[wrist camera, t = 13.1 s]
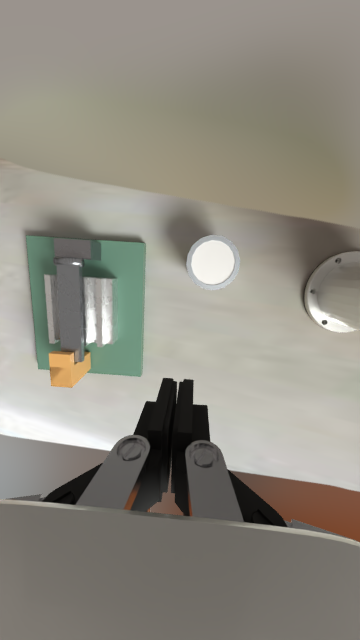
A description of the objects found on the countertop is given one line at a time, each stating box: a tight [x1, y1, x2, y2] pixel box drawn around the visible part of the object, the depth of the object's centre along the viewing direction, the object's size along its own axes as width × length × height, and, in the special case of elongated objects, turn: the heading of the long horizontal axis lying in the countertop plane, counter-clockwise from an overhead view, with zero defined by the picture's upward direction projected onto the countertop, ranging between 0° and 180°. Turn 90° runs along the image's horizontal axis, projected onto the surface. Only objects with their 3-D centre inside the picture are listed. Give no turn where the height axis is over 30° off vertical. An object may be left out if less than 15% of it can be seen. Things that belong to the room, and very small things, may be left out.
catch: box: [49, 351, 91, 388], centre depth 33 cm, size 3×5×6 cm, turn 177°
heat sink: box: [44, 238, 118, 347], centre depth 32 cm, size 10×15×4 cm, turn 176°
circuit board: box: [26, 235, 146, 377], centre depth 36 cm, size 18×22×2 cm
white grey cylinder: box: [186, 235, 240, 290], centre depth 31 cm, size 7×7×7 cm
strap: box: [53, 256, 85, 362], centre depth 30 cm, size 15×4×1 cm, turn 176°
